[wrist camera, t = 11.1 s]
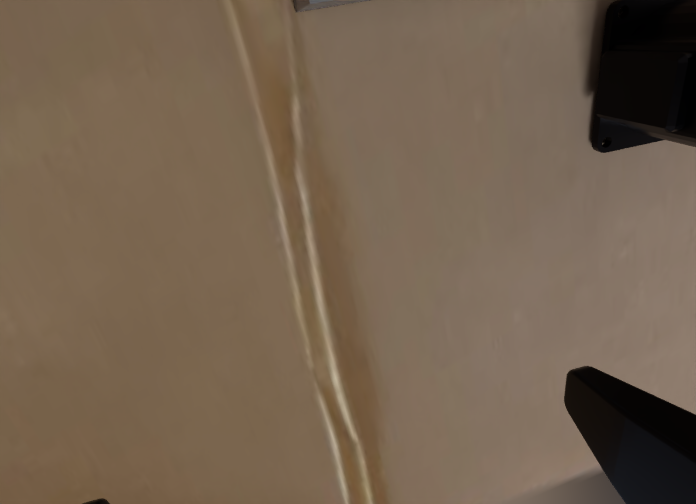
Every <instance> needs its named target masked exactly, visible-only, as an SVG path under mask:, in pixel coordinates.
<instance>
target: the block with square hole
mask: <svg viewBox="0 0 696 504" xmlns="http://www.w3.org/2000/svg"><path fill="white" fill-rule="evenodd" d="M362 1H369V0H294V6H295V11H296V12H301V11H307V10H313V9H320V8H326V7H332V6H338V5H344V4H350V3H356V2H362Z"/></svg>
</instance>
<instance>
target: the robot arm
mask: <svg viewBox="0 0 696 504" xmlns="http://www.w3.org/2000/svg"><path fill="white" fill-rule="evenodd" d="M620 8H622V14H621V16H620V17H618V12H619V10H620ZM605 138H606V140H605V143H604V144H603V145H602V142H603V140H604V139H605ZM661 140H668V141H672V142H676V143H680V144H685V145H689V146H693V147H696V0H616V1H614V2H613V3H612V4H611V5H610V6H609V8H608V10H607V13H606V20H605V29H604V38H603V47H602V55H601V64H600V73H599V82H598V91H597V99H596V108H595V117H594V126H593V135H592V147H593V149H594V150H596V151H599V152H602V153H606V152H611V151H615V150H620V149H624V148H629V147H634V146H638V145H643V144H648V143H652V142H657V141H661ZM564 402H565V406H566V409H567V411H568V413H569V414H570V416H571V418H572V419H573V421H574V423H575V424H576V426H577V428H578V429H579V431H580V433H581V434H582V436H583V438H584V439H585V441H586V443H587V444H588V446H589V448H590V449H591V451H592V453H593V454H594V456H595V458H596V459H597V461H598V462H599V464H600V466H601V467H602V469H603V471H604V472H605V474H606V476H607V477H608V479H609V480H610V482H611V483H612V485H613V486H614V488H615V489H616V490H617V492H618V493H619V495H620V496H621V497H622V499H623V500H624V502H625V503H626V504H696V415H695V414H693V413H691V412H689V411H687V410H684V409H682V408H680V407H678V406H676V405H674V404H671V403H669V402H667V401H665V400H663V399H661V398H658V397H656V396H654V395H652V394H650V393H648V392H645V391H643V390H641V389H639V388H637V387H635V386H632V385H630V384H628V383H626V382H624V381H622V380H619V379H617V378H615V377H613V376H611V375H609V374H606V373H604V372H602V371H600V370H598V369H595V368H593V367H590V366H583V367H580V368H576V369H573V370H570V371H569V372H568V374H567V378H566V387H565V396H564ZM83 504H109V502H108V501H107V500H105V499H103V498H102V499H97V500H93V501H90V502H86V503H83Z"/></svg>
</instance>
